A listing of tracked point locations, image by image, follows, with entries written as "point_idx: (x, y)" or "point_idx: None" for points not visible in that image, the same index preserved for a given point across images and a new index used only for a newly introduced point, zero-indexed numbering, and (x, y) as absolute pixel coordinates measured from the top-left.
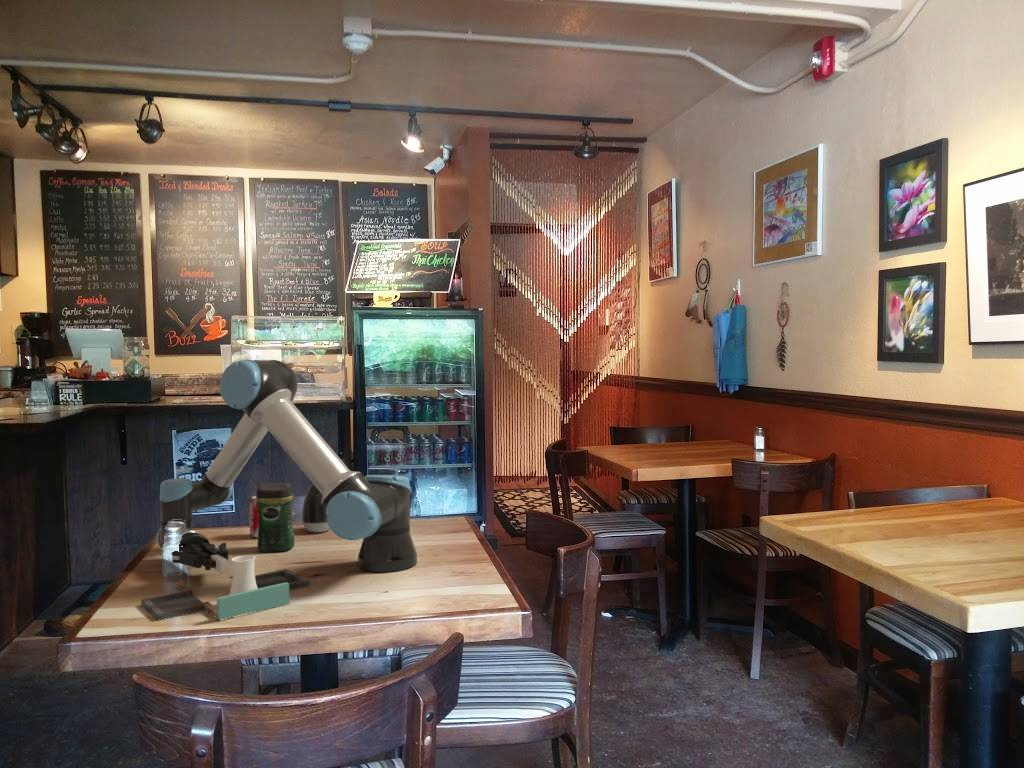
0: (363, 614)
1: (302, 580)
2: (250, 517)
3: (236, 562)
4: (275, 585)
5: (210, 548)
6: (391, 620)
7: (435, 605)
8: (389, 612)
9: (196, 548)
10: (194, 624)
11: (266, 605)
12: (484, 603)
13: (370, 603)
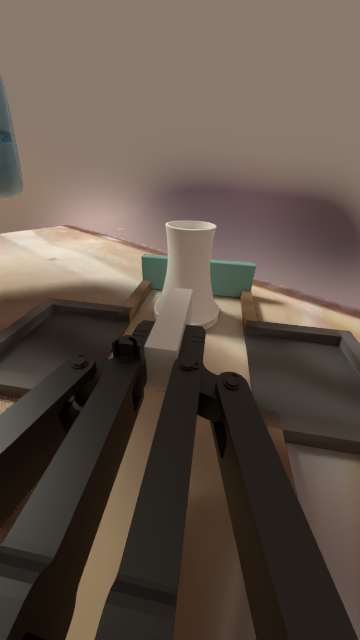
0: (128, 250)
1: (54, 302)
2: None
3: (212, 226)
4: (162, 257)
5: (14, 549)
6: (128, 241)
7: (79, 238)
8: (112, 245)
9: (148, 635)
10: (282, 304)
11: None
12: (62, 231)
13: (97, 255)
